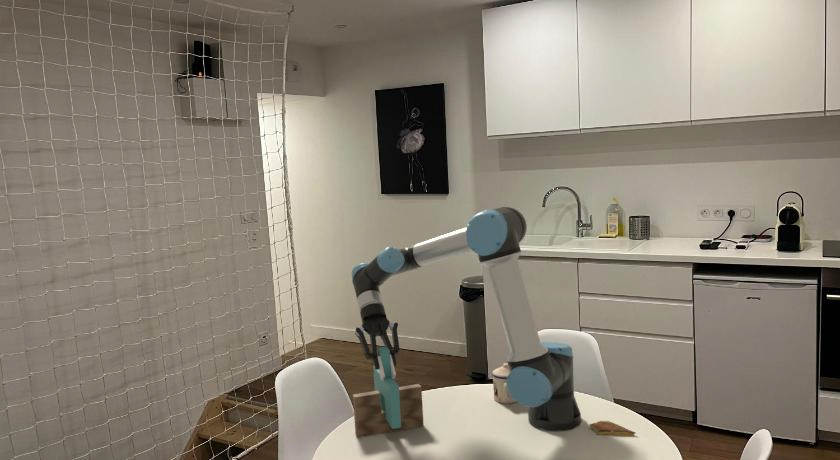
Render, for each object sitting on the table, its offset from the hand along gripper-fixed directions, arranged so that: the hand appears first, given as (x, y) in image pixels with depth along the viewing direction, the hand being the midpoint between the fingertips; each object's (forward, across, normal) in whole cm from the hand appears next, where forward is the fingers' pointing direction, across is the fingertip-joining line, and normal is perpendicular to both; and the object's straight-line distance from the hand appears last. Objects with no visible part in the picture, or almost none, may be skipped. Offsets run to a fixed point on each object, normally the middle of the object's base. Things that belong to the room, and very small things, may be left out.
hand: (388, 377), depth 178 cm
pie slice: (+29, -58, +4) cm, 64 cm away
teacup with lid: (+5, -41, -19) cm, 45 cm away
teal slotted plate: (+6, 0, -12) cm, 13 cm away
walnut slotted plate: (+10, 0, -14) cm, 17 cm away
